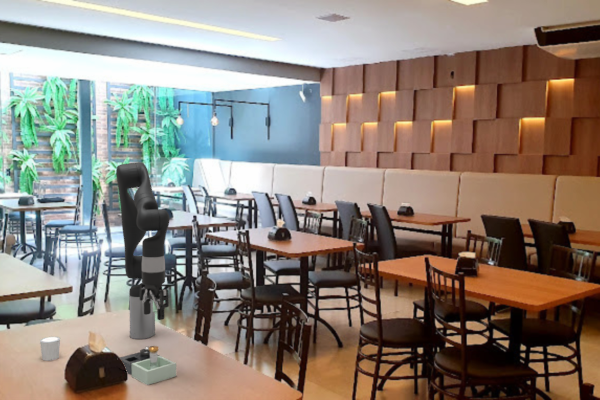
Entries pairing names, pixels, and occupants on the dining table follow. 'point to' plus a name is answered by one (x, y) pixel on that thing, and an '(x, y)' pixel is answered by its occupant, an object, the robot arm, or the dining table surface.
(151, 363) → the lock pin
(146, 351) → the dark grey holder block
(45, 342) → the white ribbed cylinder
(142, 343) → the dining table surface
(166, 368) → the parts tray
